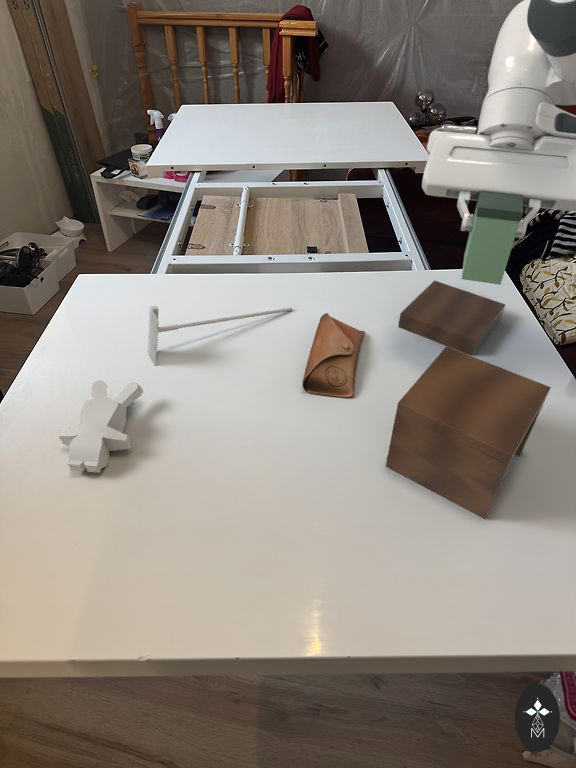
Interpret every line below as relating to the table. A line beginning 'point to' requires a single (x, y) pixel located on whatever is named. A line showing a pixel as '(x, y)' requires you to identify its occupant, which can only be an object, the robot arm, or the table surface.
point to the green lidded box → (492, 236)
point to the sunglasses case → (333, 359)
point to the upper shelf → (463, 428)
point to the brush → (155, 329)
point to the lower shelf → (451, 317)
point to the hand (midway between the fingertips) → (492, 233)
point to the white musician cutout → (99, 428)
